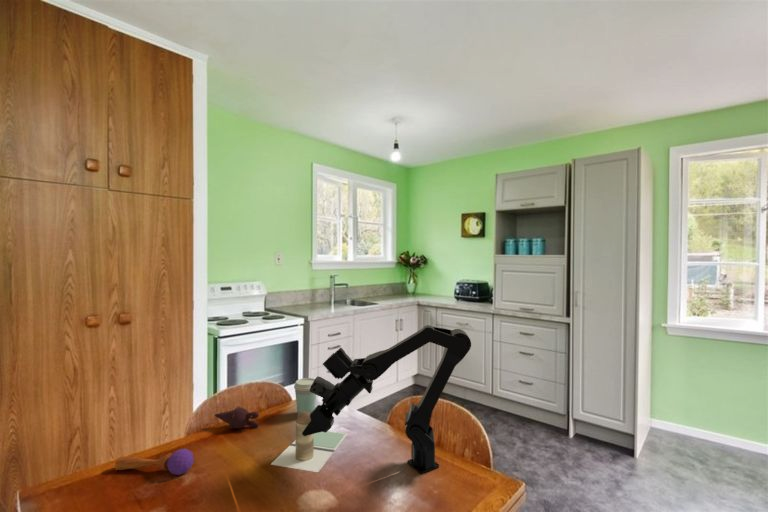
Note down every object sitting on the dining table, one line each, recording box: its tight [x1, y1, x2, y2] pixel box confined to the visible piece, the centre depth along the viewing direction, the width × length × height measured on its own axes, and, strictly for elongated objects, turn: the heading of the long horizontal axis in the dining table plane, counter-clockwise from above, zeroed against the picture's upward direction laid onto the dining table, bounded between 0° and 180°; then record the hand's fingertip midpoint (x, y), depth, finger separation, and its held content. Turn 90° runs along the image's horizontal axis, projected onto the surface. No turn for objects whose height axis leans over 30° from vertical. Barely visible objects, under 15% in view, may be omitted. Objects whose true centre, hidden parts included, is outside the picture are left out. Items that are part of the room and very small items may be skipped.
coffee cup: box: [293, 377, 317, 416], centre depth 133 cm, size 8×8×12 cm
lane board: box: [270, 430, 348, 473], centre depth 109 cm, size 22×14×1 cm, turn 165°
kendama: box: [114, 448, 195, 476], centre depth 97 cm, size 6×6×20 cm
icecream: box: [214, 406, 260, 430], centre depth 123 cm, size 7×7×15 cm
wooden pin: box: [295, 411, 314, 461], centre depth 105 cm, size 5×5×12 cm
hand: (308, 427), depth 104 cm, fingers open, 9 cm apart
